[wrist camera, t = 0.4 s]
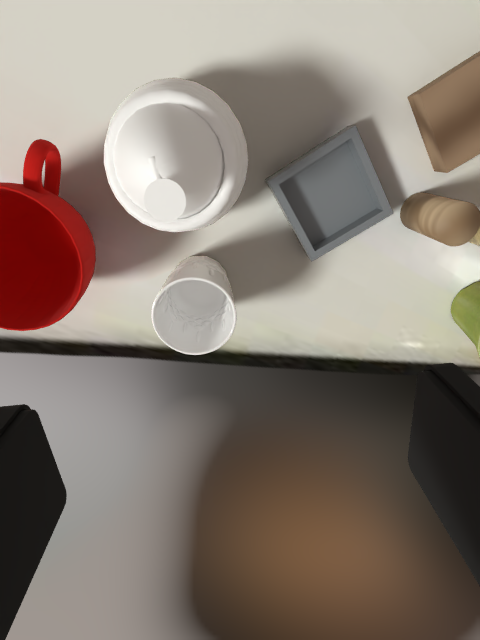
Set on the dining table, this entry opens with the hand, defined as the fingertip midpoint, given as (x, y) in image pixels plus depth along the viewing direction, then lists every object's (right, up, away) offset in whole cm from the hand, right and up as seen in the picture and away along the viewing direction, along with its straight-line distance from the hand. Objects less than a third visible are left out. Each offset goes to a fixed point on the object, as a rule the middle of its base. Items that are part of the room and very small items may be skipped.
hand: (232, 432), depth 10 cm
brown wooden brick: (+23, +24, +29) cm, 44 cm away
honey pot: (-6, +19, +30) cm, 36 cm away
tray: (+9, +16, +32) cm, 37 cm away
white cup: (-5, +7, +35) cm, 36 cm away
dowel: (+20, +15, +33) cm, 41 cm away
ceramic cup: (-20, +14, +32) cm, 40 cm away
